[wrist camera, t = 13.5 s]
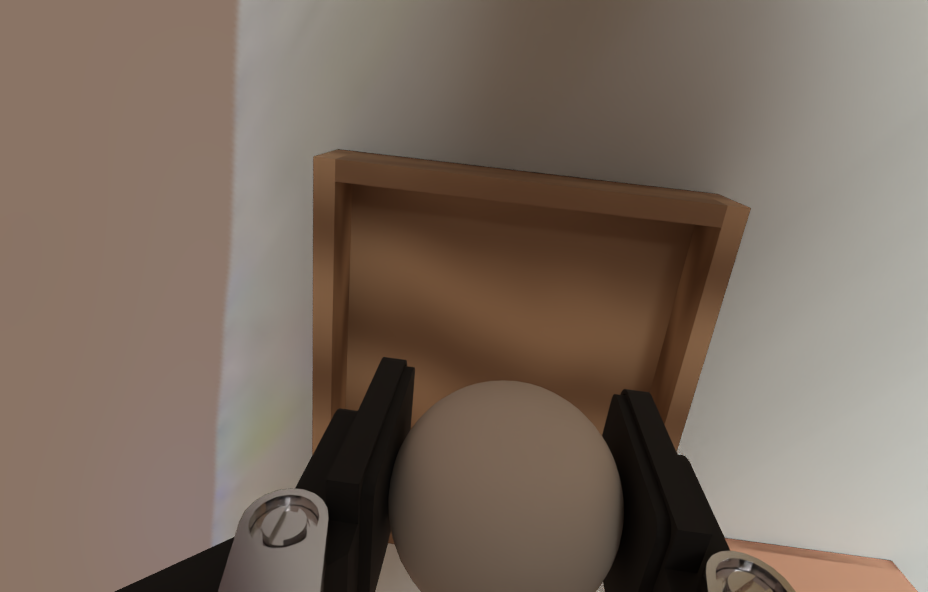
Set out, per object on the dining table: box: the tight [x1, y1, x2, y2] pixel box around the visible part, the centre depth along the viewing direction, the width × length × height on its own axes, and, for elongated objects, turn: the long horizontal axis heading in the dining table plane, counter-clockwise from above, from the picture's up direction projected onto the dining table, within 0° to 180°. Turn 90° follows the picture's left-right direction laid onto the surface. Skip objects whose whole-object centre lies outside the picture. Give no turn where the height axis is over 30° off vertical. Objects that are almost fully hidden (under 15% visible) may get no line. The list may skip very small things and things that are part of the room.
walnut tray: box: [312, 149, 751, 544], centre depth 23 cm, size 18×16×3 cm
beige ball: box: [388, 380, 624, 592], centre depth 10 cm, size 4×4×4 cm
